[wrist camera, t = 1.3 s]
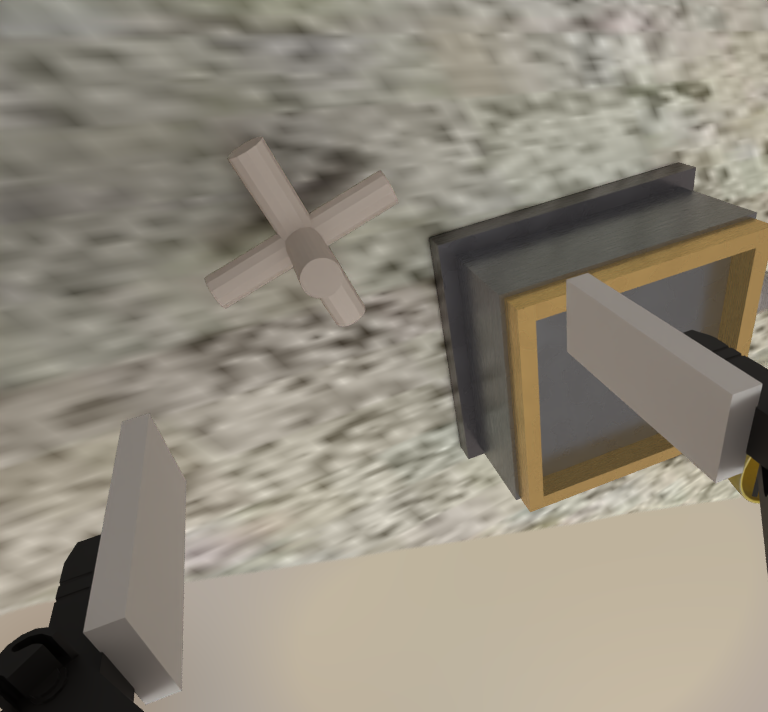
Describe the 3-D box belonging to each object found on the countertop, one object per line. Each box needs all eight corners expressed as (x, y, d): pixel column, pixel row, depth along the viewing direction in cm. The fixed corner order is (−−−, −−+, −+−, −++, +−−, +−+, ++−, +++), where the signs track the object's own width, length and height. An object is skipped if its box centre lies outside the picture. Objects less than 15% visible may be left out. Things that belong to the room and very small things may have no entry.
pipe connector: (318, 78, 29) (369, 101, 21) (399, 237, 35) (465, 305, 26) (153, 180, 29) (139, 243, 21) (261, 322, 35) (283, 416, 27)
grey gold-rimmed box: (429, 237, 35) (492, 296, 28) (730, 147, 38) (860, 177, 31) (460, 446, 45) (514, 531, 38) (698, 361, 48) (790, 423, 41)
